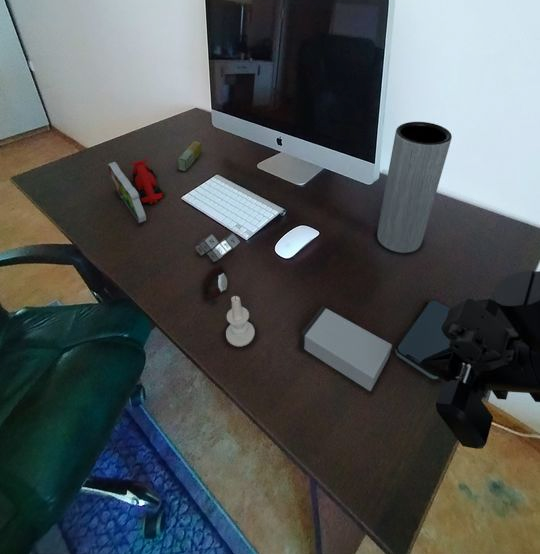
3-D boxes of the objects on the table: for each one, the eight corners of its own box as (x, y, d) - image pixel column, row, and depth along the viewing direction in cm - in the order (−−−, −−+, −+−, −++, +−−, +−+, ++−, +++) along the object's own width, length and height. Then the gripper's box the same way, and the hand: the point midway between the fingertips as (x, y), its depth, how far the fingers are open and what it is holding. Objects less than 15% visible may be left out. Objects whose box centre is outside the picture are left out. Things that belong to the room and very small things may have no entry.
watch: (222, 303, 73) (219, 291, 71) (199, 301, 73) (196, 289, 71) (231, 274, 79) (229, 262, 77) (209, 272, 79) (207, 260, 77)
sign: (148, 224, 94) (138, 191, 88) (141, 226, 93) (131, 194, 87) (120, 186, 108) (110, 156, 102) (114, 188, 108) (104, 158, 102)
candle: (238, 317, 70) (233, 279, 64) (260, 330, 67) (257, 293, 61) (220, 337, 67) (212, 299, 60) (242, 352, 64) (236, 314, 58)
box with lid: (392, 344, 60) (322, 305, 67) (373, 378, 55) (300, 333, 62) (388, 358, 62) (321, 319, 69) (370, 391, 58) (300, 346, 65)
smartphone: (472, 319, 66) (438, 378, 57) (469, 325, 67) (435, 384, 58) (431, 297, 71) (393, 349, 62) (428, 302, 72) (391, 354, 63)
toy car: (143, 207, 99) (138, 192, 96) (132, 177, 112) (128, 162, 109) (165, 201, 101) (161, 186, 98) (152, 172, 114) (148, 157, 111)
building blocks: (208, 265, 84) (225, 256, 78) (193, 246, 83) (209, 236, 77) (223, 251, 87) (240, 242, 81) (209, 233, 87) (225, 223, 81)
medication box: (186, 171, 114) (185, 160, 111) (178, 170, 114) (176, 159, 112) (201, 152, 123) (201, 142, 120) (194, 151, 123) (193, 140, 121)
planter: (412, 223, 90) (438, 119, 74) (428, 252, 82) (462, 142, 66) (371, 226, 90) (389, 122, 74) (384, 255, 82) (406, 145, 66)
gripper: (519, 256, 46) (414, 279, 58) (482, 374, 34) (360, 371, 46) (568, 327, 46) (454, 334, 58) (548, 466, 35) (410, 439, 47)
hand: (422, 364), depth 52 cm, fingers closed
